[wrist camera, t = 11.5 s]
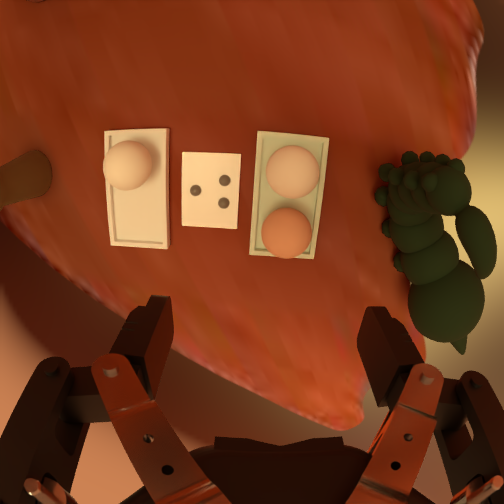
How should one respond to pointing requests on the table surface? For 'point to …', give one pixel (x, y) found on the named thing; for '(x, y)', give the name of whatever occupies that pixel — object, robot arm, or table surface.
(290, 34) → the table surface
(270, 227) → the ball
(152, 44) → the table surface
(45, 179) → the olive green waisted cylinder
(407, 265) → the toy figurine
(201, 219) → the card
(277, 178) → the ball
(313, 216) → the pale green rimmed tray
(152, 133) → the egg tray
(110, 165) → the ball
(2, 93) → the table surface
